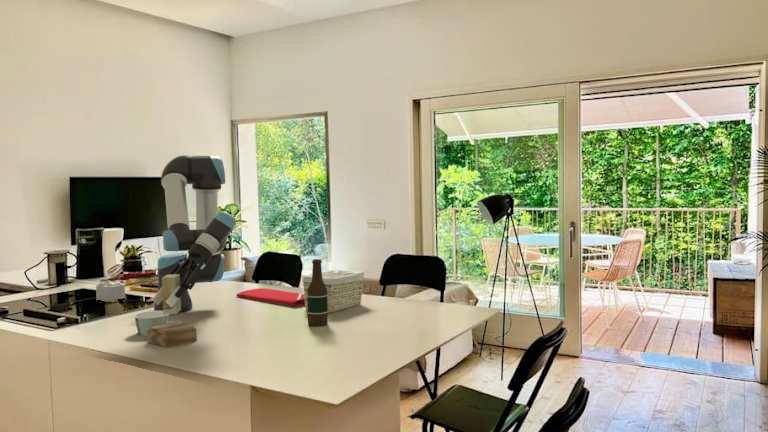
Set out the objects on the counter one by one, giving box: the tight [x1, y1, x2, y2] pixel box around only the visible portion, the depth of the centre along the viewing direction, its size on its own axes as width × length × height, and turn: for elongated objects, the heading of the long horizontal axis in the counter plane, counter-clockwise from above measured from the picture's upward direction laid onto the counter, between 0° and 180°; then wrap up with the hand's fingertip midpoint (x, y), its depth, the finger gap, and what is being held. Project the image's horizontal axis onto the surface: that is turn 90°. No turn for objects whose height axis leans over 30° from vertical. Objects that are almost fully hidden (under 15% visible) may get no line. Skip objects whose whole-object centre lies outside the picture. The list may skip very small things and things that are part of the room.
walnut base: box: [147, 321, 198, 349], centre depth 191 cm, size 11×11×5 cm
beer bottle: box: [307, 258, 329, 327], centre depth 214 cm, size 8×8×24 cm
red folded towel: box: [236, 287, 305, 307], centre depth 263 cm, size 16×41×4 cm, turn 50°
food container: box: [133, 310, 170, 337], centre depth 204 cm, size 12×12×6 cm
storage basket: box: [302, 269, 365, 314], centre depth 245 cm, size 24×16×15 cm
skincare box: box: [162, 274, 181, 315], centre depth 191 cm, size 6×4×12 cm
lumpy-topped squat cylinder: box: [95, 279, 126, 301], centre depth 265 cm, size 10×13×9 cm
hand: (162, 303), depth 188 cm, fingers closed on skincare box, 7 cm apart
